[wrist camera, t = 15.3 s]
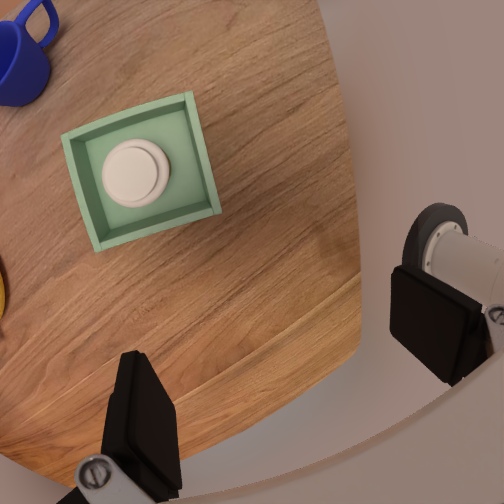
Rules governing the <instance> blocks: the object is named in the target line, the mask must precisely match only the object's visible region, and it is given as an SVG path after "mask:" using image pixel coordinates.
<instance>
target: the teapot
mask: <svg viewBox="0 0 504 504" xmlns="http://www.w3.org/2000/svg"><path fill="white" fill-rule="evenodd" d="M4 306H5V292H4V285H3V279H2V276H1V272H0V319H1V317H2V314H3V311H4Z"/></svg>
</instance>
